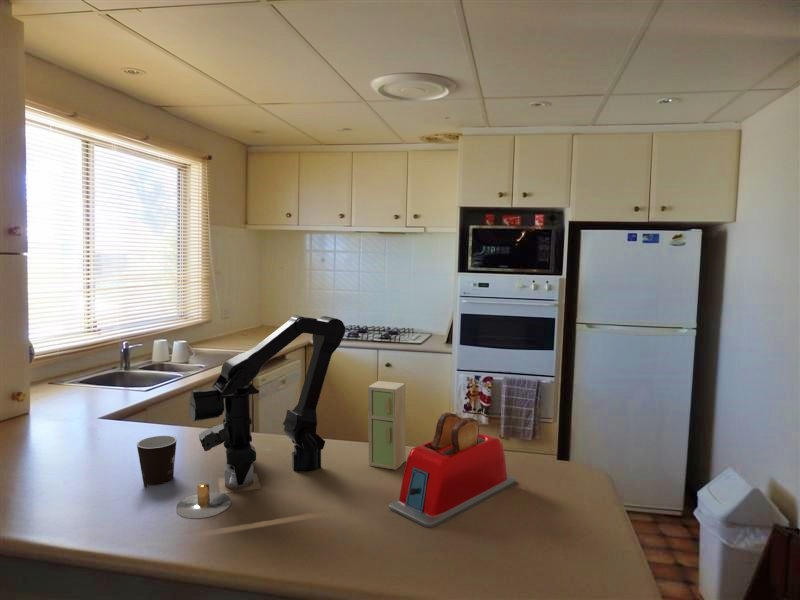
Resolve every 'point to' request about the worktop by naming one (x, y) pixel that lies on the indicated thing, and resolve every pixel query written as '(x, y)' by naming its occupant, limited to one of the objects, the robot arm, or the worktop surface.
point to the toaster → (451, 472)
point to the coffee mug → (157, 459)
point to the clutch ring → (232, 481)
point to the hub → (203, 503)
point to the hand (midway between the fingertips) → (239, 478)
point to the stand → (226, 490)
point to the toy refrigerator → (386, 424)
